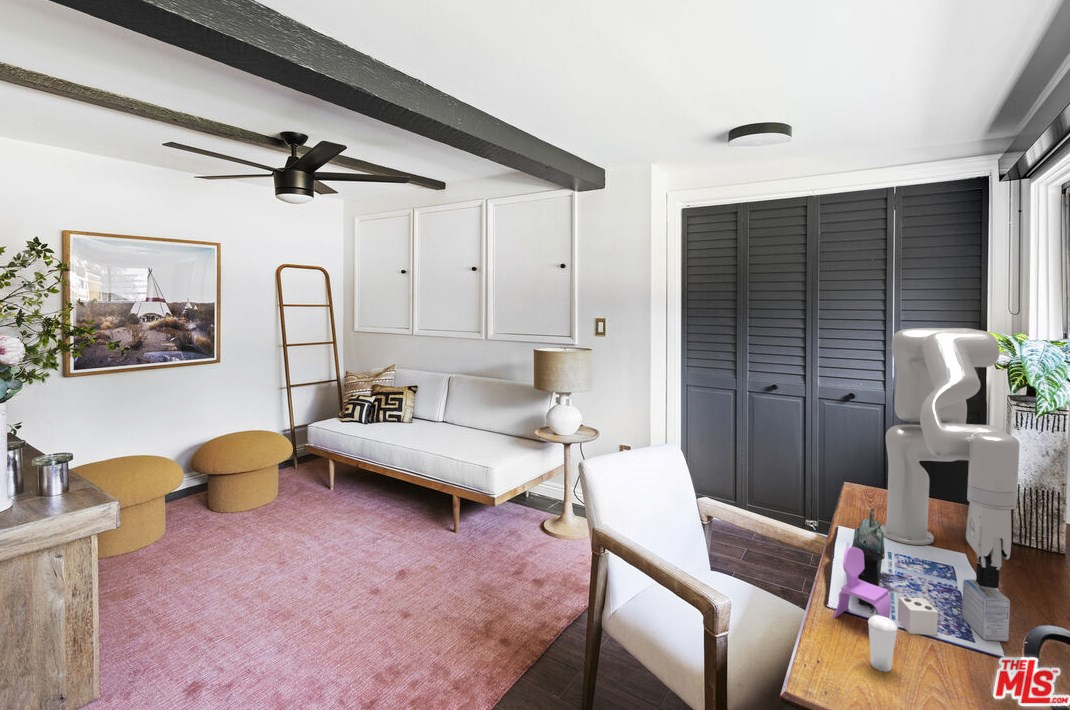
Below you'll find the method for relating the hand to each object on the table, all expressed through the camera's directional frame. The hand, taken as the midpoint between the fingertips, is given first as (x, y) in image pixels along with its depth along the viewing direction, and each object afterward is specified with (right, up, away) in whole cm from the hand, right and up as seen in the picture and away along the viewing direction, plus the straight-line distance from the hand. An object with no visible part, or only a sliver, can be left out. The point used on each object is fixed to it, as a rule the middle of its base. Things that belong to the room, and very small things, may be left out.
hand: (987, 585), depth 111 cm
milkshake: (-27, -11, -9) cm, 30 cm away
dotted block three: (-12, -10, +3) cm, 16 cm away
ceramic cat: (-13, -8, +18) cm, 24 cm away
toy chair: (-22, -10, +5) cm, 25 cm away
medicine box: (0, -10, +1) cm, 10 cm away
